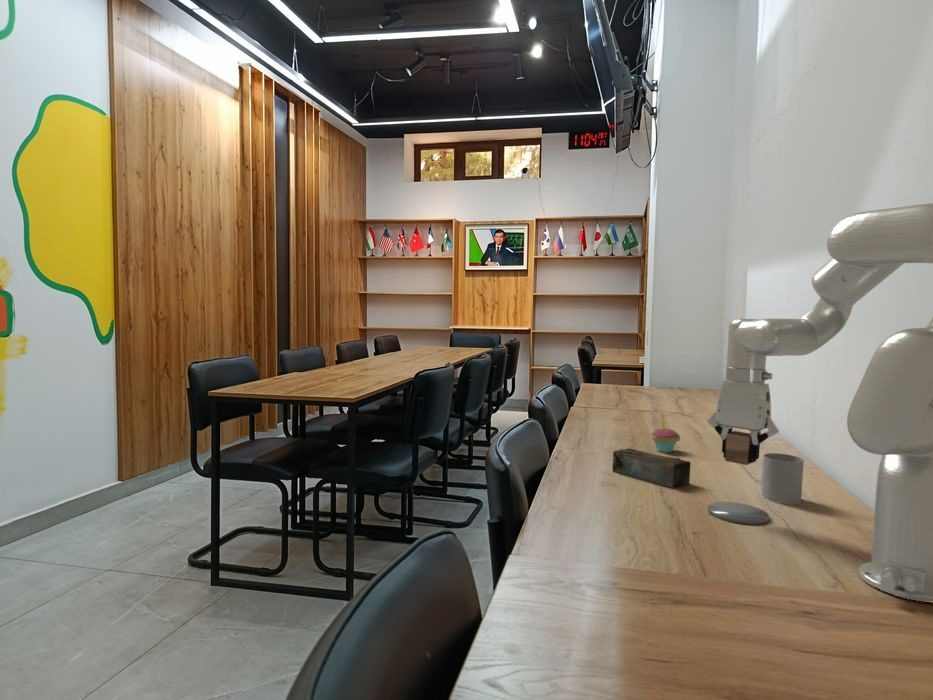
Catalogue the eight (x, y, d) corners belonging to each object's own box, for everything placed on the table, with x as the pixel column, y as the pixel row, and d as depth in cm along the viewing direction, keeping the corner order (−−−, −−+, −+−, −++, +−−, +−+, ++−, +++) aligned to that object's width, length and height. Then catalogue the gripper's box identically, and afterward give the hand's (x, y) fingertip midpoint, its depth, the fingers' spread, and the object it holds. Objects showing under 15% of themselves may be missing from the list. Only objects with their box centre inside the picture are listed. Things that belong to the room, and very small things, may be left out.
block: (746, 465, 119) (748, 437, 119) (725, 460, 123) (726, 433, 122) (754, 461, 123) (756, 434, 122) (732, 457, 126) (734, 430, 125)
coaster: (757, 529, 115) (757, 525, 115) (698, 513, 123) (699, 510, 123) (776, 515, 123) (776, 511, 123) (720, 501, 132) (720, 498, 132)
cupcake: (645, 448, 184) (647, 412, 183) (665, 446, 187) (666, 411, 187) (664, 454, 176) (666, 416, 175) (685, 452, 180) (686, 415, 179)
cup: (806, 505, 130) (809, 463, 130) (768, 502, 132) (770, 460, 131) (793, 494, 139) (795, 454, 138) (756, 491, 140) (759, 452, 140)
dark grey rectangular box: (628, 467, 160) (629, 445, 160) (691, 485, 146) (692, 459, 145) (611, 472, 155) (612, 448, 155) (674, 490, 141) (675, 464, 140)
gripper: (793, 379, 118) (787, 464, 119) (712, 371, 130) (707, 449, 131) (782, 381, 113) (776, 471, 114) (698, 373, 125) (694, 454, 126)
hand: (739, 458), depth 123 cm, fingers closed on block, 4 cm apart
